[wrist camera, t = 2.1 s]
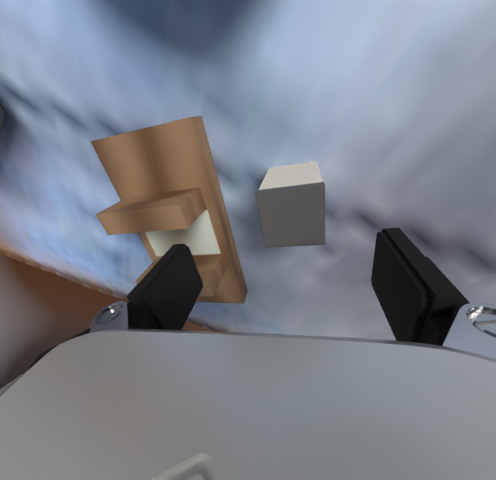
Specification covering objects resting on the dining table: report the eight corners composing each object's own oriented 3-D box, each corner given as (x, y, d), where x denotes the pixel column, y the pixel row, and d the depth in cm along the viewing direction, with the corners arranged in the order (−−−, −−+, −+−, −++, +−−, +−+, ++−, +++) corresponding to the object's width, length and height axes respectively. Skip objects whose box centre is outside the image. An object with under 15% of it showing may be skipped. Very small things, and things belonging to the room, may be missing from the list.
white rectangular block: (317, 160, 18) (324, 184, 12) (318, 205, 20) (325, 244, 14) (268, 167, 19) (255, 193, 13) (274, 210, 21) (265, 247, 15)
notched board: (201, 116, 18) (162, 120, 13) (247, 291, 27) (235, 332, 22) (107, 138, 20) (45, 149, 15) (180, 290, 30) (156, 326, 25)
